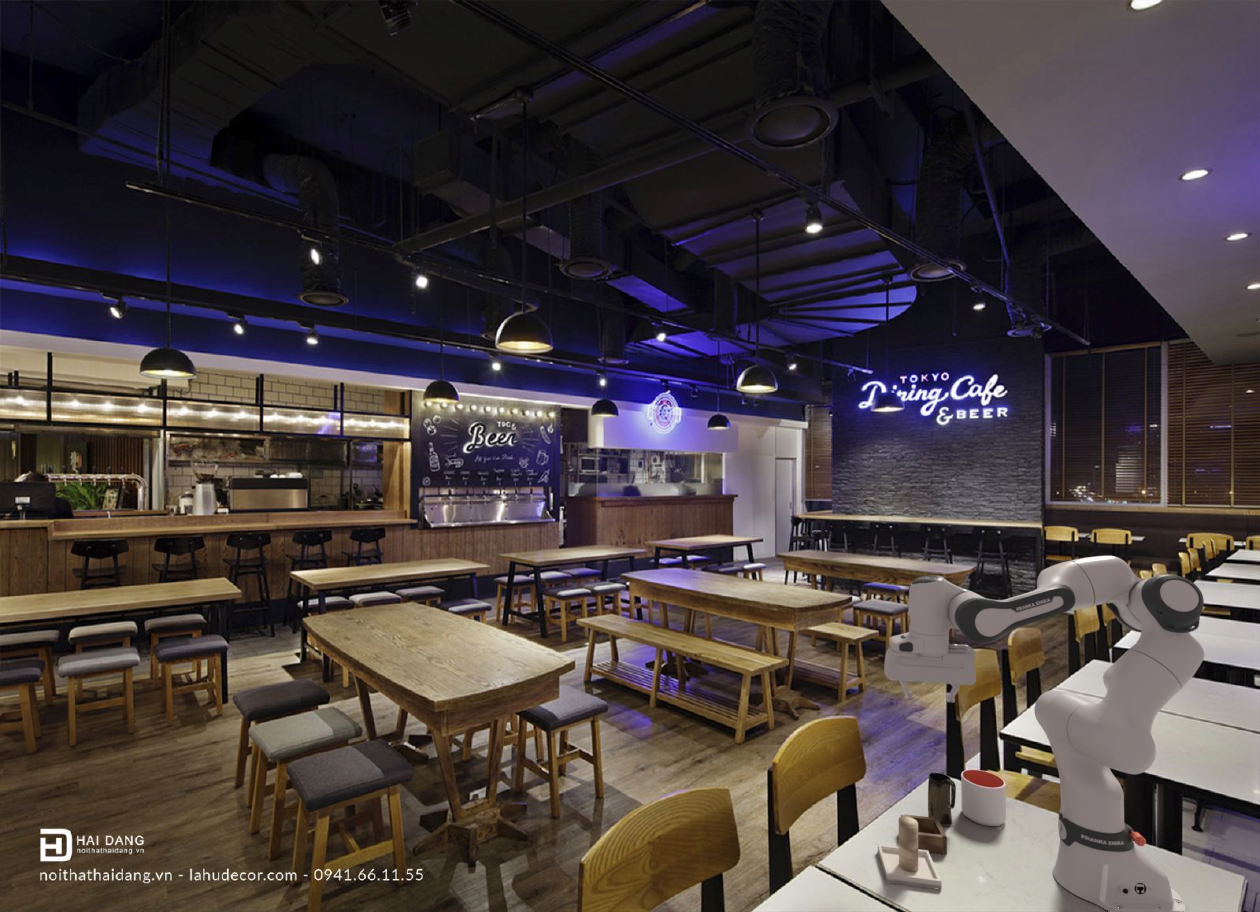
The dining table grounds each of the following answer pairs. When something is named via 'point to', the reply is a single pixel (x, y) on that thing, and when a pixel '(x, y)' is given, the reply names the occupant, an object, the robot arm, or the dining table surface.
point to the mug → (941, 798)
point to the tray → (897, 875)
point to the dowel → (908, 844)
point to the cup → (983, 797)
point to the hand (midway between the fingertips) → (929, 700)
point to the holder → (930, 835)
